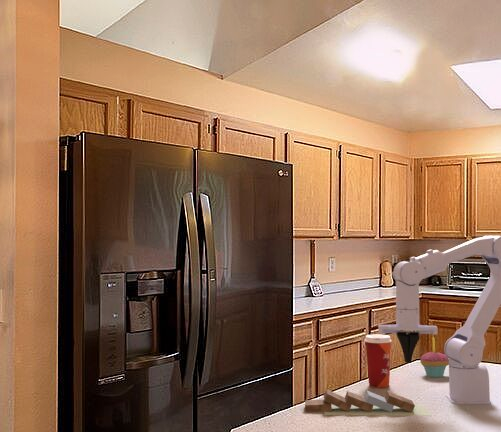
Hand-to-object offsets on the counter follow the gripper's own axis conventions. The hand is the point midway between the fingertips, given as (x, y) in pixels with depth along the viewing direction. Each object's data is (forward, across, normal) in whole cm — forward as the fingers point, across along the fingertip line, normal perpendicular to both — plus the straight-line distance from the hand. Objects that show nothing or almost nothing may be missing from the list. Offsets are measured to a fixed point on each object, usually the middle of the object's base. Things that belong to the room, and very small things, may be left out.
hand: (407, 362), depth 155 cm
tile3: (+10, +10, +7) cm, 15 cm away
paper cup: (+11, +5, -18) cm, 22 cm away
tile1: (+9, 0, +7) cm, 12 cm away
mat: (+11, +9, +7) cm, 15 cm away
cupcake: (+10, -13, -30) cm, 34 cm away
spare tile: (+9, +5, +7) cm, 13 cm away
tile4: (+10, +15, +7) cm, 19 cm away
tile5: (+10, +20, +7) cm, 23 cm away
